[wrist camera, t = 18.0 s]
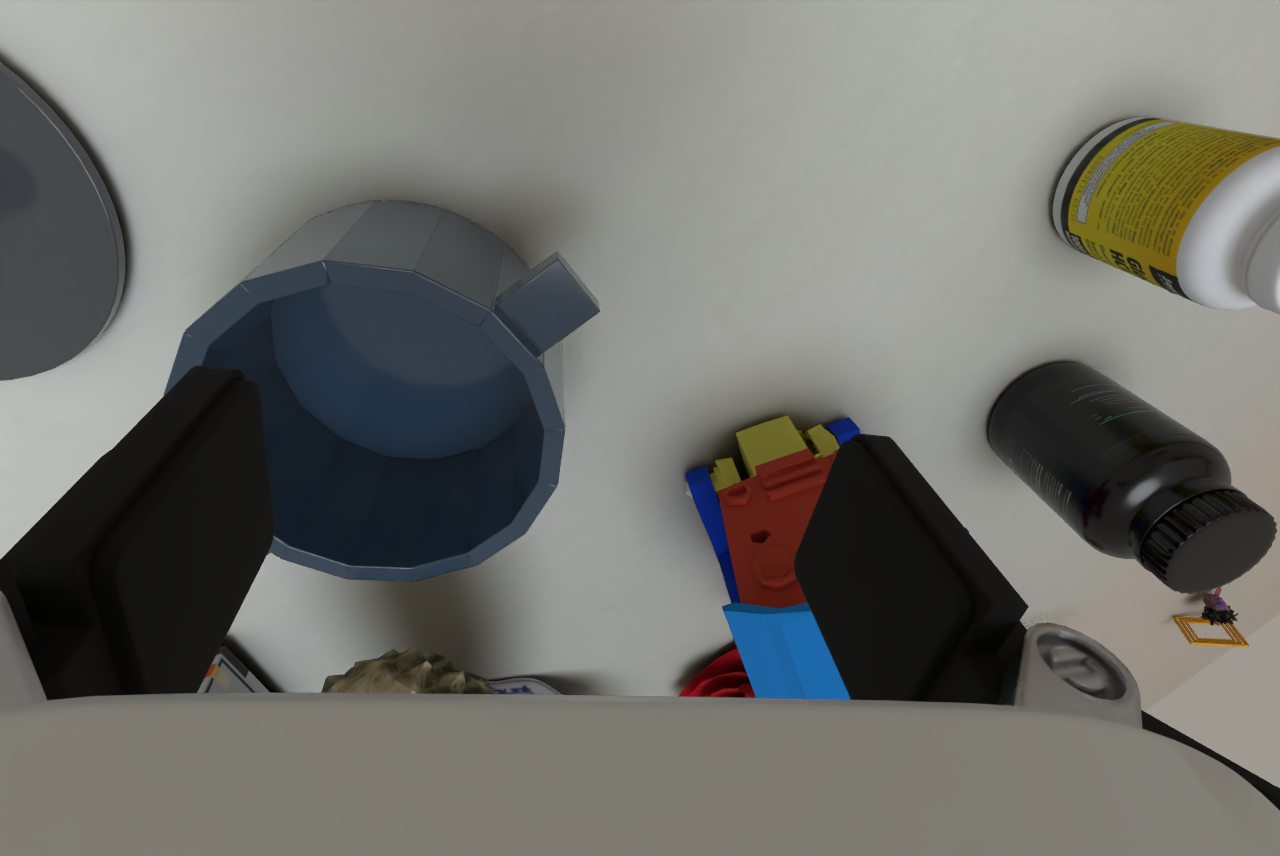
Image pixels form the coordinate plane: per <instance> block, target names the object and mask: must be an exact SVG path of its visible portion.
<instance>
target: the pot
mask: <svg viewBox="0 0 1280 856" xmlns="http://www.w3.org/2000/svg"><path fill="white" fill-rule="evenodd" d="M599 312H600V308H599V303H598V300H597V299H596V298H595V297H594V295H593V294H592V293H591V292H590V290H589V289H588V288H587V287H586V285H585V284H584V283H583V282H582V280H581V279H580V278H579V277H578V275H577V274H576V273H575V272H574V270H573V269H572V268H571V267H570V265H569V264H568V263H567V262H566V261H565V259H564V258H563V257H562V256H561V254H560V253H559V252H558V251H556V252H554V253H553V254H552V255H551V256H549V257H548V258H547V259H545V260H544V261H543V262H541V263H540V264H539V265H538V266H536V267H535V268H534V269H532V270H531V271H530V269H529V268H528V267H527V265H526V264H525V263H524V261H523V260H522V259H521V258H520V257H519V256H518V255H517V254H516V253H515V252H514V251H513V250H512V249H511V248H510V247H509V246H508V245H506V244H505V243H504V242H503V241H502V240H500V239H499V238H498V237H497V236H495V235H494V234H493V233H491V232H490V231H488V230H486V229H485V228H483V227H482V226H480V225H478V224H477V223H475V222H473V221H471V220H469V219H467V218H465V217H462V216H460V215H458V214H456V213H453V212H450V211H447V210H444V209H441V208H438V207H435V206H431V205H426V204H421V203H416V202H408V201H394V200H386V201H380V200H377V201H369V202H364V203H358V204H353V205H348V206H345V207H342V208H339V209H336V210H334V211H331V212H328V213H326V214H323V215H319V216H315V217H314V218H312V219H311V220H309V221H308V222H307V223H306V224H305V225H304V226H302V227H301V228H300V229H299V230H298V231H297V232H296V233H294V234H293V235H292V236H291V237H290V238H289V239H288V240H286V241H285V242H284V243H283V244H282V245H281V246H280V247H278V248H277V249H276V250H275V251H274V252H273V253H272V254H270V255H269V256H268V257H267V258H266V259H265V260H264V261H263V262H261V263H260V264H259V265H258V266H257V267H256V268H255V269H254V270H252V271H251V272H250V273H249V274H248V275H247V276H246V277H245V278H243V279H242V280H241V281H240V282H239V283H238V284H237V285H236V286H234V287H233V288H232V289H231V290H230V291H229V292H228V293H227V294H225V295H224V296H223V297H222V298H221V299H220V300H219V301H218V302H216V303H215V304H214V305H213V306H212V307H211V308H210V309H209V310H207V311H206V312H205V313H204V314H203V315H202V316H201V317H200V318H198V319H197V320H196V321H195V322H194V323H193V324H192V325H191V326H189V327H188V328H187V329H186V330H185V332H184V333H183V336H182V340H181V343H180V346H179V349H178V352H177V355H176V358H175V361H174V364H173V367H172V370H171V373H170V377H169V380H168V383H167V386H166V389H165V392H164V396H165V395H166V394H167V393H168V392H169V391H170V390H171V389H172V388H173V387H174V385H175V384H176V383H177V382H178V381H179V380H180V379H181V378H182V377H183V376H184V375H185V374H186V373H187V372H188V371H189V370H190V369H191V368H193V367H194V366H208V367H218V368H228V369H237V370H241V371H242V372H243V373H244V375H245V377H246V380H249V381H255V382H256V383H257V384H258V386H259V391H260V399H261V408H262V416H263V425H264V434H265V443H266V451H267V460H268V469H269V478H270V487H271V495H272V504H273V513H274V522H275V529H274V537H273V541H272V545H271V547H270V549H269V551H268V553H267V555H268V554H269V553H270V552H271V553H273V554H274V555H276V556H277V557H280V558H281V559H283V560H287V561H290V562H293V563H296V564H299V565H303V566H306V567H309V568H312V569H315V570H319V571H322V572H325V573H328V574H331V575H335V576H338V577H341V578H344V579H348V580H378V581H409V582H414V581H418V580H422V579H426V578H430V577H434V576H438V575H442V574H446V573H449V572H453V571H457V570H461V569H465V568H469V567H473V566H475V565H479V564H480V563H482V562H483V561H485V560H486V559H488V558H489V557H491V556H492V555H494V554H495V553H497V552H498V551H500V550H501V549H503V548H504V547H506V546H507V545H509V544H510V543H512V542H514V541H515V540H517V539H518V538H520V537H521V536H523V535H524V534H525V533H526V532H527V531H528V529H529V528H530V526H531V525H532V523H533V522H534V520H535V519H536V517H537V516H538V514H539V513H540V511H541V510H542V508H543V507H544V505H545V504H546V502H547V501H548V499H549V498H550V496H551V495H552V493H553V492H554V490H555V489H556V487H557V484H558V480H559V473H560V465H561V458H562V450H563V442H564V435H565V416H564V399H563V381H562V364H561V347H560V340H562V339H563V338H565V337H566V336H567V335H569V334H570V333H571V332H573V331H574V330H575V329H577V328H578V327H580V326H581V325H582V324H584V323H585V322H586V321H588V320H589V319H591V318H592V317H593V316H595V315H596V314H597V313H599Z"/></svg>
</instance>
